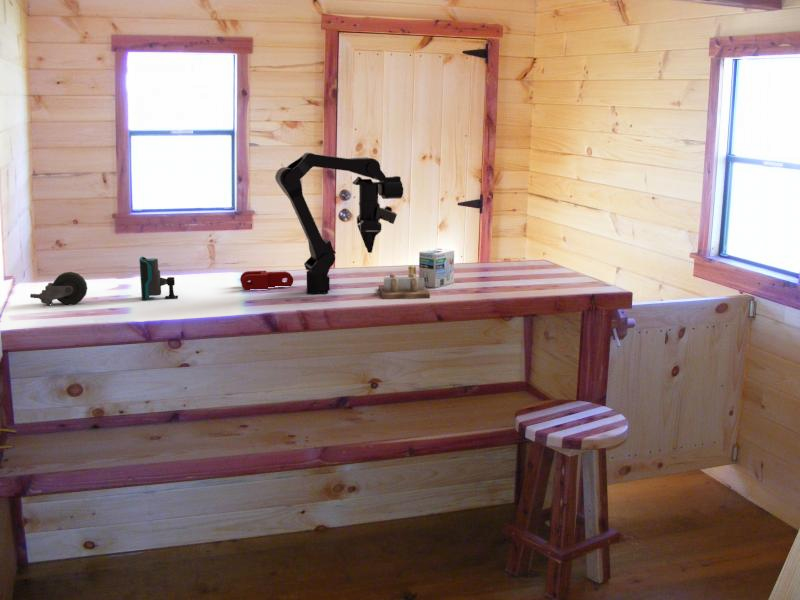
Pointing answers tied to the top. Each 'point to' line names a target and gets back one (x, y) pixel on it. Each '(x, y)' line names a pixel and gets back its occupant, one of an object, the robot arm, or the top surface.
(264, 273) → the mechanical linkage
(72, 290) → the caster wheel
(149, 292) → the surveillance camera
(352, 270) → the top surface
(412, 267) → the brass pin
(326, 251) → the robot arm
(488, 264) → the top surface
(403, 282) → the grey rectangular block
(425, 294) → the peg board
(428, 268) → the light bulb box
